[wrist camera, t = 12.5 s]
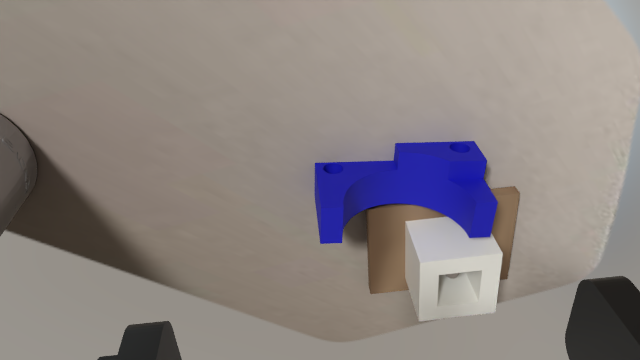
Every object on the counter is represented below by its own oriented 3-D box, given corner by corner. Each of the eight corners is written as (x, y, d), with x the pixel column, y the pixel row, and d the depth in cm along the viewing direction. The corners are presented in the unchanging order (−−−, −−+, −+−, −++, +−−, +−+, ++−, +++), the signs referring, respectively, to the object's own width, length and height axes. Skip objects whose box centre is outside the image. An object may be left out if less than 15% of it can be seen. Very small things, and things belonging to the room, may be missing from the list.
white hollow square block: (405, 221, 43) (420, 262, 39) (480, 212, 43) (502, 253, 39) (405, 277, 46) (418, 321, 42) (474, 269, 46) (495, 312, 42)
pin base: (368, 285, 48) (377, 325, 44) (365, 202, 43) (375, 238, 39) (502, 271, 48) (523, 309, 44) (514, 186, 43) (539, 220, 39)
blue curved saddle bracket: (473, 140, 41) (502, 183, 36) (464, 190, 43) (490, 237, 38) (315, 144, 40) (321, 189, 35) (314, 195, 42) (320, 243, 37)
